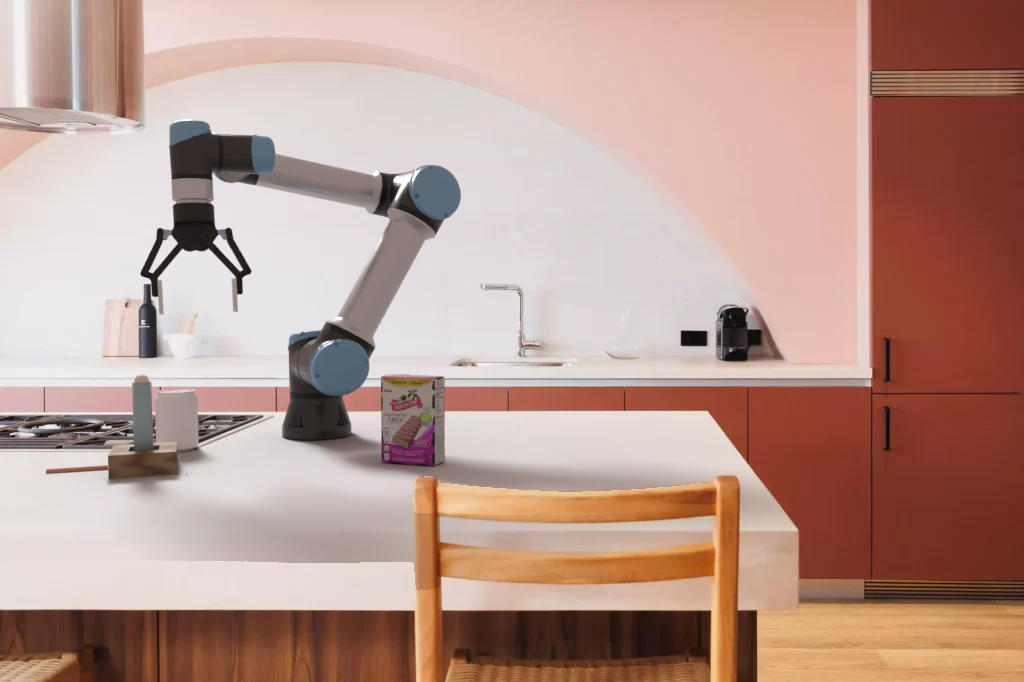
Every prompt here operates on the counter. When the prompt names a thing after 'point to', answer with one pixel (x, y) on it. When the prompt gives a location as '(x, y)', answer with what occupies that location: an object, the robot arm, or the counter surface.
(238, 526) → the counter surface
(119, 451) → the wooden block with hole
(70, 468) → the copper rod
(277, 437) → the counter surface
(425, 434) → the candy bar box
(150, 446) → the grey-green rod
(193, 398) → the beverage can
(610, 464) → the counter surface
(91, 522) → the counter surface
